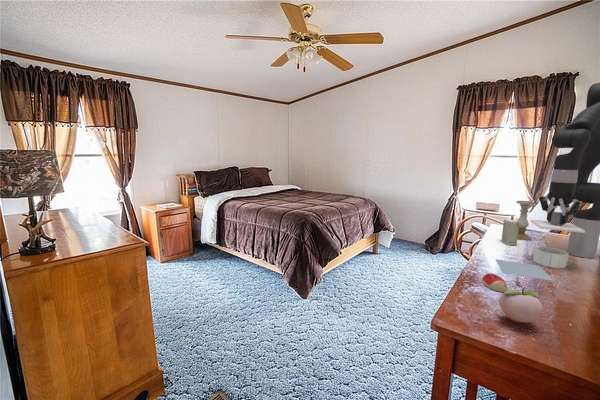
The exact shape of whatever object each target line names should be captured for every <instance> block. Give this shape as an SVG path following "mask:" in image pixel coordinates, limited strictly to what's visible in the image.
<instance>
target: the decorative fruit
mask: <svg viewBox="0 0 600 400" xmlns="http://www.w3.org/2000/svg"><path fill="white" fill-rule="evenodd" d="M539 299H540V300H542V297H541V296H540V295H538V294H537V293H536V292H532V291H527V290H526V291H525V288H524V287H522V289H521V290H514V289H508V290H507V291H505V292H502V293H501V295H500V297H499V298H498V302H499V303H498V304H499V308H500V309H501V310H502V313H504V315H505V316H506V317H508V318H509V319H510V320H512V321H513V322H515V323H534V322H537V321H538V320H540V318H541V317H542V315H543V313H544V307H543V304H542V303H541V301H540V300H539Z"/></svg>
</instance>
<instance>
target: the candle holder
mask: <svg viewBox="0 0 600 400" xmlns="http://www.w3.org/2000/svg"><path fill="white" fill-rule="evenodd" d="M515 203H516V204H519V207H520V210H519V212H520V215H519V217H518V219H517V220H516V221H517V222H520V223H519V231H518V239H517V240H519V241H531V239H532V237H531V236H530V235H529V234H527V233H526V231H528V227H530V226H529V225H530V224H529V221H528V217H527V216H528V213H529V208H530V207H531V205H532V206H533V205H535V202H534V201H528V200H516V202H515Z"/></svg>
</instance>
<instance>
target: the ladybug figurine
mask: <svg viewBox="0 0 600 400" xmlns="http://www.w3.org/2000/svg"><path fill="white" fill-rule="evenodd" d="M481 282H482V283H483V285H484V286H486V287H487V288H488V289H490V290H493V291H496V292H497V293H498V292H499V293H504V292H505V291H507V290H509V287H508V284H507V282H506V281H505V280H504V279H503V278H502V277H500V276H499V275H497V274H496V273H495V274H494V273H491V272H490V273H486V274H485V275H483V276H482V278H481Z"/></svg>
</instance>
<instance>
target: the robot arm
mask: <svg viewBox="0 0 600 400" xmlns="http://www.w3.org/2000/svg"><path fill="white" fill-rule="evenodd" d="M585 106H586V107H585V109H583V110H581V111H580V112H579V113H578V114H577V115H576V116H575V117H574V119H572V121H570V122H569V123H567V124H566V125H564V126H562V127H561V128H559V129H558V130H557V131H555V133H554V134H553V135H552V138H551V145H552V146H553V147H555V148H557V149H571V150H570V151H569V152H567V153H563V154H558V155H556V156H555V158H554V162H553V168H552V173H551V176H550V183H549V186H548V187H549V188H548V194H547V195H544V196H543V195H542V196H539V197H538V198H539V201H540V202H539V203H540V207H541V210H542V211H543V212H547V213H546V221H548V222H550V221H551V215H552V212H556V211H555V210H556V208H558V207H560V210H561V213H562V215H561V220H560V224H561V225H564V224H565V223H568V221H569V216H572V219H571V224H573V225H575V226H577V227H579V228H581V229H583V230H585V233H581V232H571V231H569V238H568V242H567V247H566V252H567V253H568V254H569V255H571V256H576V257H578V258H585V259H595V258H596V254H597V251H598V246H599V241H600V183H599V182H589V181H588V180H589V178H590V176H591V174H592V172H593V171H594V170H595V168H597V167H598V166H599V165H600V82H596V83H593V84H592V85H590V87H589V88H588V90H587V94H586V104H585ZM548 201H549V203H548ZM584 203H585V204H591V205H592V206H591V207H588V208H585V209H584V208H583V209H580V208H581V207H582V206H583V204H584ZM571 204H572V206H571V207H570V205H571Z"/></svg>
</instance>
